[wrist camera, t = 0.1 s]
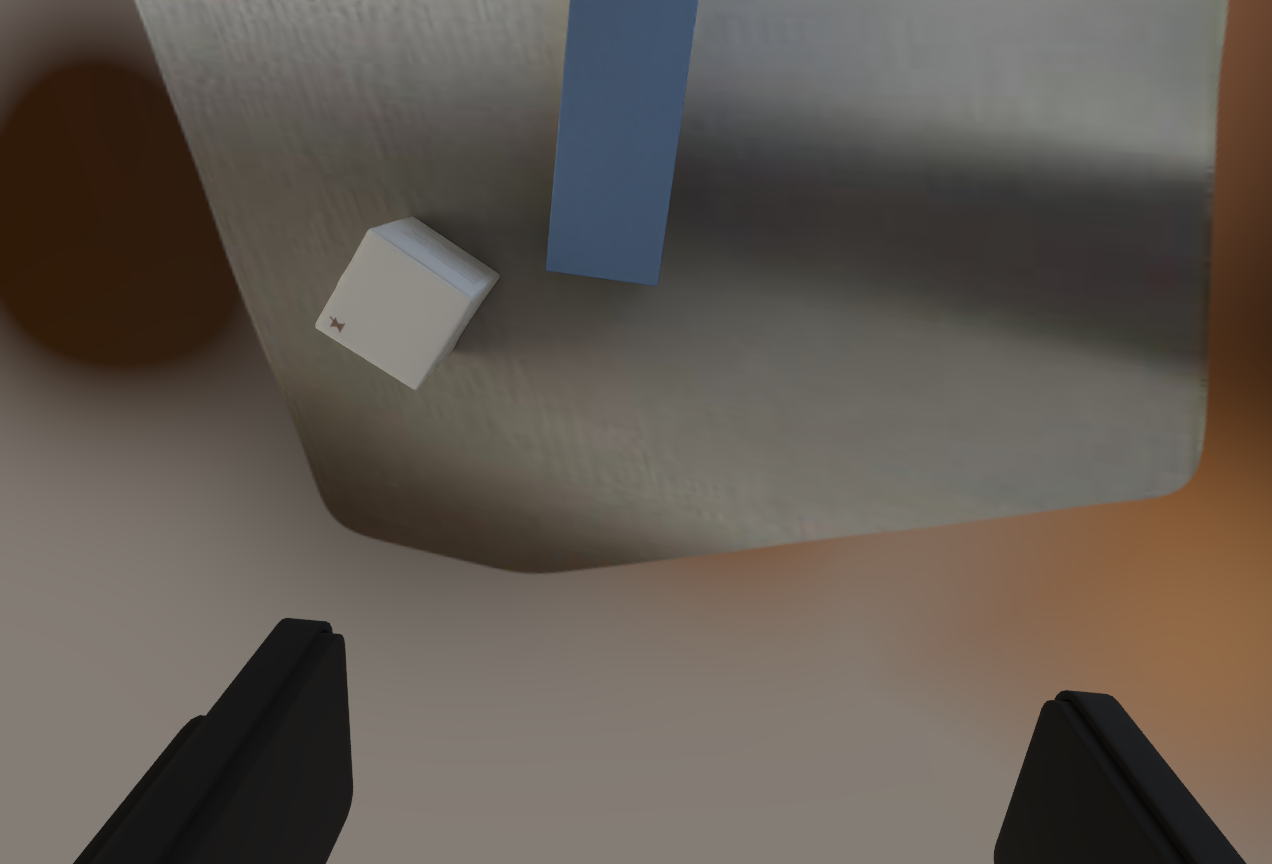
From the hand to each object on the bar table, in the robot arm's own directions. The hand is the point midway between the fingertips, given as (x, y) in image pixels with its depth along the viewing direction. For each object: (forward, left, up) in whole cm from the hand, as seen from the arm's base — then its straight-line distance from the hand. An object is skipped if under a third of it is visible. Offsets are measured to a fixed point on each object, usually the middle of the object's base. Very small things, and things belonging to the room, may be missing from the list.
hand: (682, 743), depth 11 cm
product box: (-6, -12, -37) cm, 40 cm away
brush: (-8, +2, -37) cm, 38 cm away
